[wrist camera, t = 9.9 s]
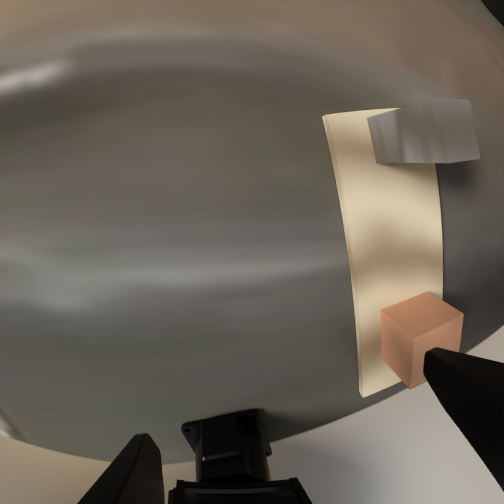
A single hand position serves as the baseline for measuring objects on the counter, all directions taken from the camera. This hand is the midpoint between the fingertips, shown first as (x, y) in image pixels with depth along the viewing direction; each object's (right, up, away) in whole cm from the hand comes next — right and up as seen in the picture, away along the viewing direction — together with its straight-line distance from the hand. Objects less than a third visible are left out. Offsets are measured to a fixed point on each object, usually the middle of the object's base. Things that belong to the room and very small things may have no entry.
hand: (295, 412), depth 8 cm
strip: (+9, +4, +13) cm, 16 cm away
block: (+11, -1, +13) cm, 17 cm away
